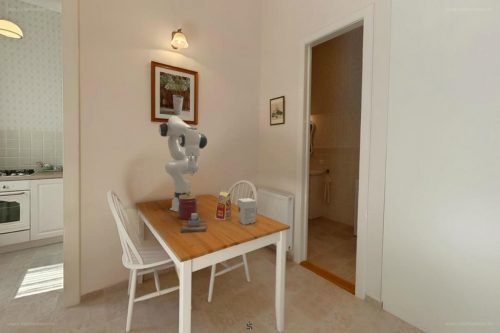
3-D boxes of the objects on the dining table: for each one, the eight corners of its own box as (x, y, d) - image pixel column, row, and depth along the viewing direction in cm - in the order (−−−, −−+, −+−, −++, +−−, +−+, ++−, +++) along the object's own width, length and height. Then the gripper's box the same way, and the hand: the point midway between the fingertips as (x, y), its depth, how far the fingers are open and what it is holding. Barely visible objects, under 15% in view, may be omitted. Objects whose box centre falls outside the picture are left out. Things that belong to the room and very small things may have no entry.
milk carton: (214, 219, 149) (215, 190, 148) (222, 215, 158) (222, 188, 156) (226, 221, 146) (226, 191, 144) (233, 217, 154) (233, 189, 153)
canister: (194, 220, 146) (194, 194, 145) (175, 219, 147) (175, 193, 145) (199, 214, 159) (199, 190, 158) (181, 214, 160) (181, 190, 158)
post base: (183, 224, 137) (183, 211, 137) (206, 223, 140) (206, 210, 139) (180, 232, 123) (180, 217, 123) (206, 231, 126) (206, 217, 125)
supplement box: (237, 220, 146) (237, 198, 145) (249, 219, 150) (249, 197, 149) (243, 225, 138) (243, 201, 137) (255, 223, 142) (256, 200, 141)
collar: (189, 223, 134) (189, 217, 134) (200, 223, 135) (200, 217, 135) (188, 227, 128) (188, 220, 128) (199, 226, 129) (199, 220, 129)
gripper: (196, 153, 129) (196, 176, 130) (198, 152, 149) (198, 173, 150) (185, 153, 128) (185, 176, 129) (188, 152, 148) (188, 173, 149)
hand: (192, 174), depth 140 cm, fingers open, 8 cm apart
